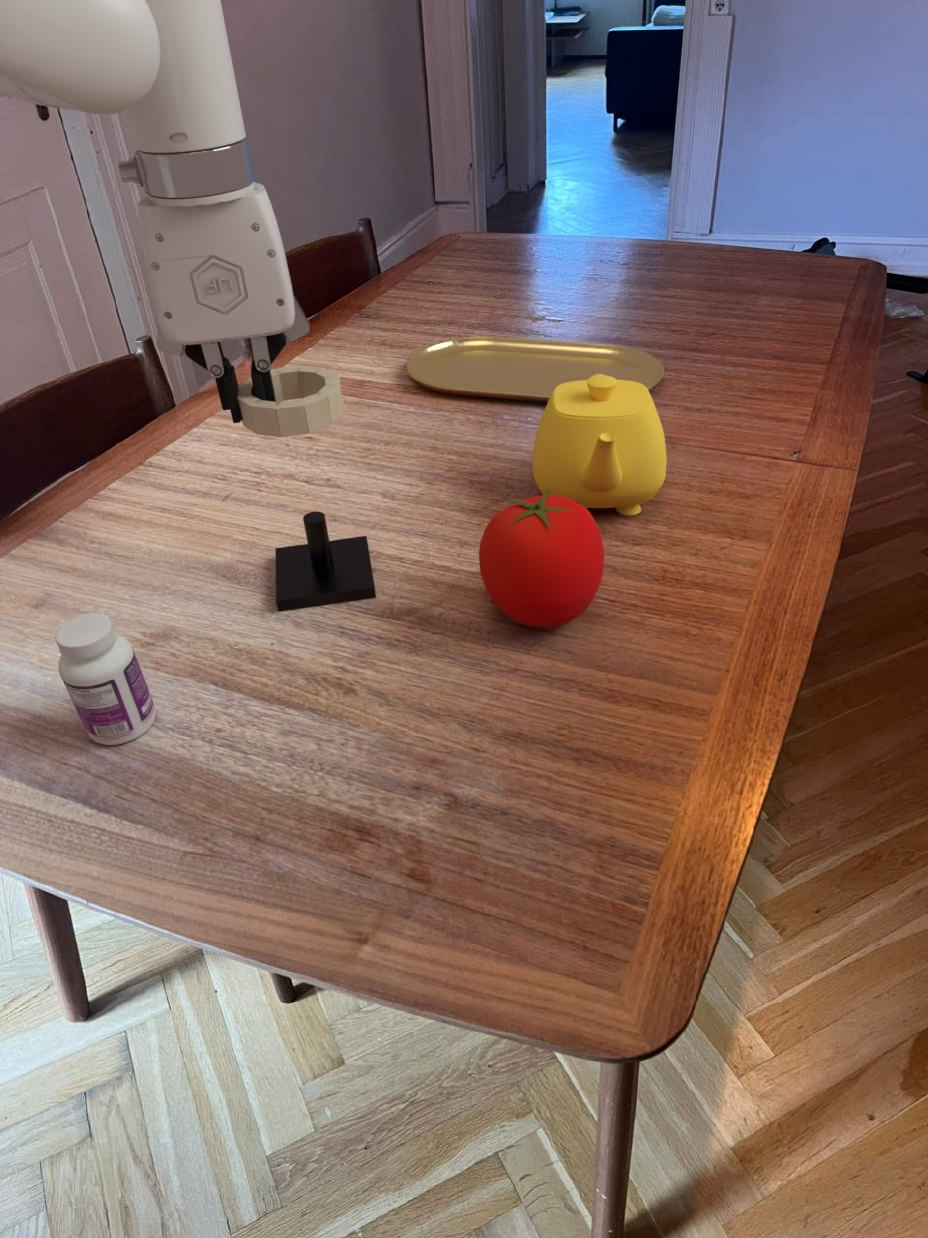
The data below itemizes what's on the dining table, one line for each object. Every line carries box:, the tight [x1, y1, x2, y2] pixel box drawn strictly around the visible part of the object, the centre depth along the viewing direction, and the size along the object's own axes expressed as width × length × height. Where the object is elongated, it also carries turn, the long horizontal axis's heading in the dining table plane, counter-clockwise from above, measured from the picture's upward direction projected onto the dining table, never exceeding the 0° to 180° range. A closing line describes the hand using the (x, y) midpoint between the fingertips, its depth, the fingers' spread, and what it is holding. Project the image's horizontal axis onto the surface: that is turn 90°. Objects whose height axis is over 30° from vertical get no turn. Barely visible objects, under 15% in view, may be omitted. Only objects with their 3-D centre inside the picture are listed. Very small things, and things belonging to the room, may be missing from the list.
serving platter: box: [406, 335, 665, 403], centre depth 119 cm, size 19×35×2 cm, turn 71°
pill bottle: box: [54, 612, 157, 746], centre depth 67 cm, size 5×5×10 cm
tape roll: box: [237, 365, 345, 438], centre depth 74 cm, size 8×8×2 cm
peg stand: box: [274, 511, 377, 612], centre depth 82 cm, size 9×9×7 cm
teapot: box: [531, 374, 668, 516], centre depth 89 cm, size 14×20×13 cm
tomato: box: [478, 490, 605, 628], centre depth 75 cm, size 10×11×11 cm
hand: (251, 413), depth 74 cm, fingers closed on tape roll, 1 cm apart
